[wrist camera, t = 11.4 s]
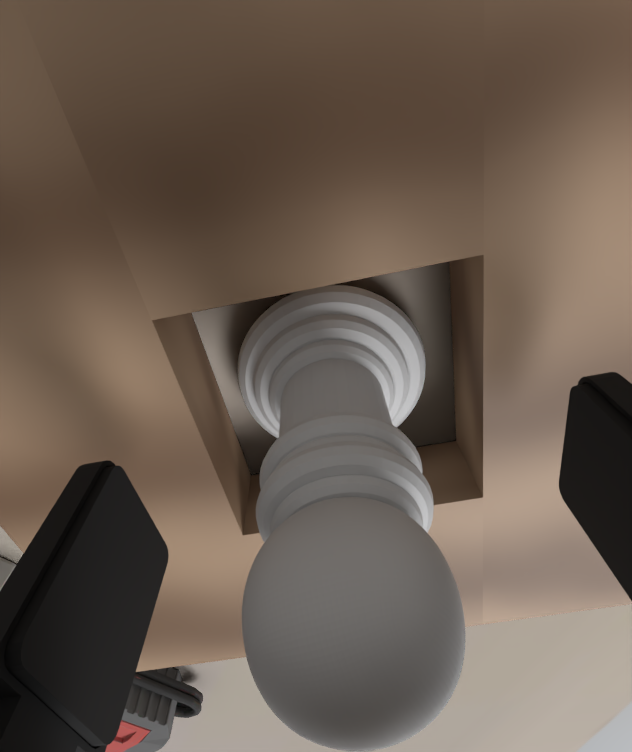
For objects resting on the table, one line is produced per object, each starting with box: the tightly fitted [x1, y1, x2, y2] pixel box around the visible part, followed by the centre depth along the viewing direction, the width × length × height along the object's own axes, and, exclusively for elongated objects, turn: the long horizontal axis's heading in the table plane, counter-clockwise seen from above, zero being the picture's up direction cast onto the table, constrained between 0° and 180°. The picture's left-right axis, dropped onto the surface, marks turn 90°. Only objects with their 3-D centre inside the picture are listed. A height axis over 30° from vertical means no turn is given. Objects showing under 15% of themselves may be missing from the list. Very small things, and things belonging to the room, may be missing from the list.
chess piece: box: [237, 285, 465, 751], centre depth 9 cm, size 5×5×9 cm
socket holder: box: [0, 0, 632, 672], centre depth 12 cm, size 20×20×2 cm
